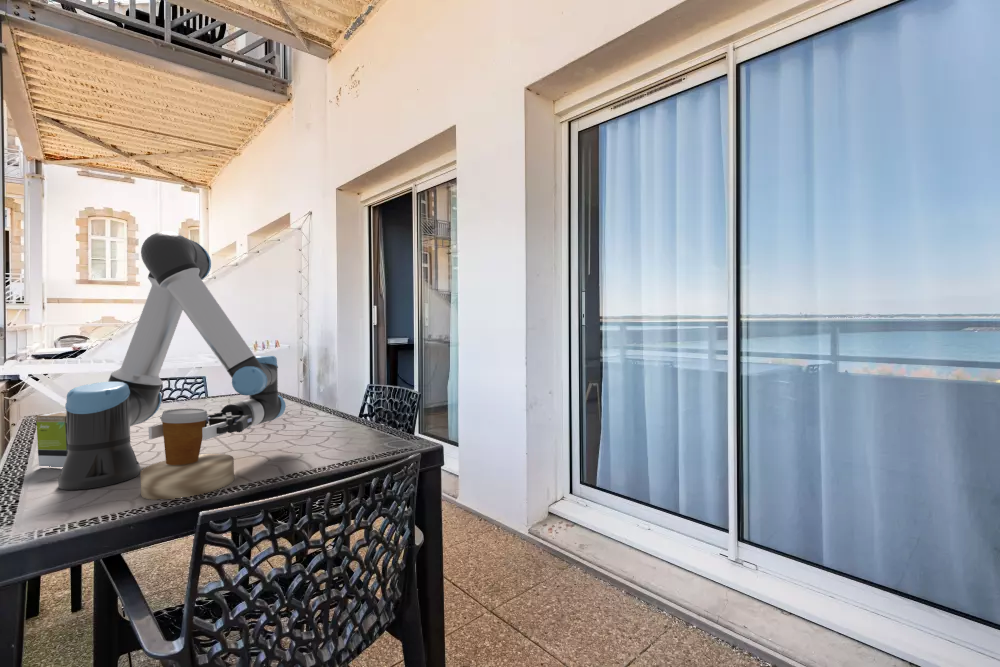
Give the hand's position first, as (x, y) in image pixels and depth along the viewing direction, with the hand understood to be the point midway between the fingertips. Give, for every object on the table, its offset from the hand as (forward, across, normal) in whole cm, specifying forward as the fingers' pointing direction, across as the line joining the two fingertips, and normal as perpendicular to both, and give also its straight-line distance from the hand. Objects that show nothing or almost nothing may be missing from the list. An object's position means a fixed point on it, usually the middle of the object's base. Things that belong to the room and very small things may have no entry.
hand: (176, 433), depth 104 cm
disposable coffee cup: (-4, +3, -8) cm, 10 cm away
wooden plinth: (-3, 0, -13) cm, 13 cm away
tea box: (-19, +48, -13) cm, 53 cm away
